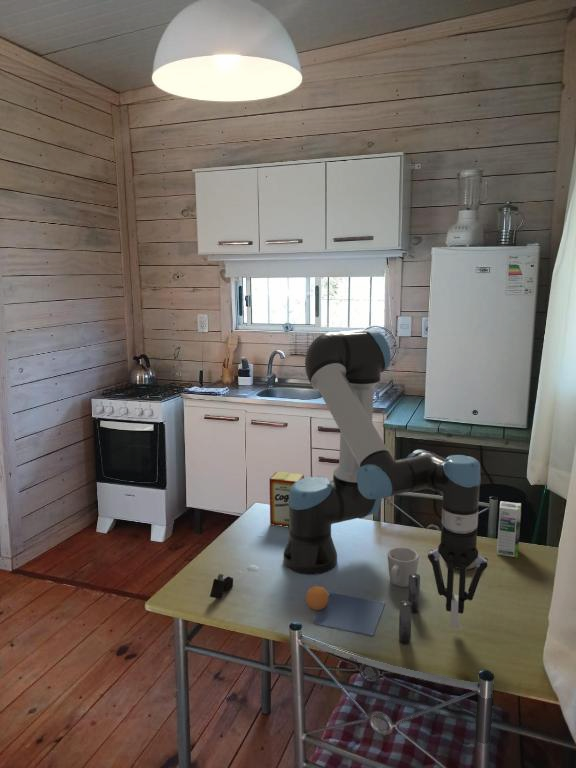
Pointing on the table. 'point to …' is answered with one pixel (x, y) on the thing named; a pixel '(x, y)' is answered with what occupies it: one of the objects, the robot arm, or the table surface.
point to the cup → (402, 565)
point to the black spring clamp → (221, 586)
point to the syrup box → (509, 529)
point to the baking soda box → (281, 496)
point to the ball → (317, 598)
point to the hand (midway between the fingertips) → (454, 624)
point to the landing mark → (351, 614)
